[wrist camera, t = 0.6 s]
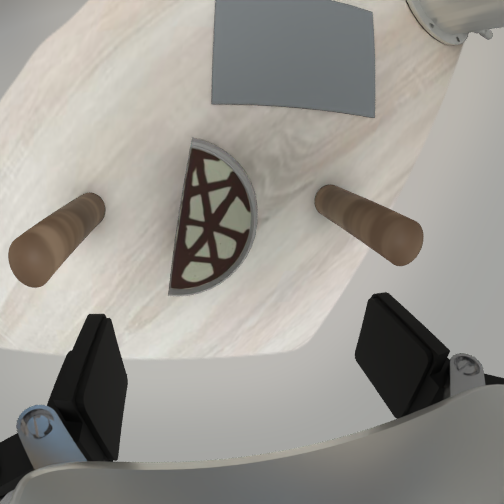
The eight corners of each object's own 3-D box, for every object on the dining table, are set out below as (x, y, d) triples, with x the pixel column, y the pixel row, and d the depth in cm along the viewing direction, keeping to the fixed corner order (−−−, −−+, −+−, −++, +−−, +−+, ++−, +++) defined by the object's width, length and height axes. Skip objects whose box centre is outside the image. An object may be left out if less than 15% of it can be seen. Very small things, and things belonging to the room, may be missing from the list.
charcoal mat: (370, 12, 25) (372, 12, 25) (372, 117, 30) (374, 117, 30) (216, -14, 22) (217, -15, 21) (211, 104, 27) (211, 103, 27)
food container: (229, 261, 33) (244, 310, 24) (173, 253, 32) (167, 301, 23) (253, 148, 29) (280, 154, 20) (192, 137, 28) (192, 137, 19)
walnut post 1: (103, 191, 28) (45, 233, 15) (107, 224, 29) (56, 287, 17) (73, 194, 27) (3, 238, 15) (77, 227, 29) (16, 287, 16)
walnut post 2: (344, 185, 33) (426, 220, 20) (342, 216, 34) (418, 264, 21) (315, 184, 32) (391, 219, 19) (313, 216, 33) (382, 267, 21)
